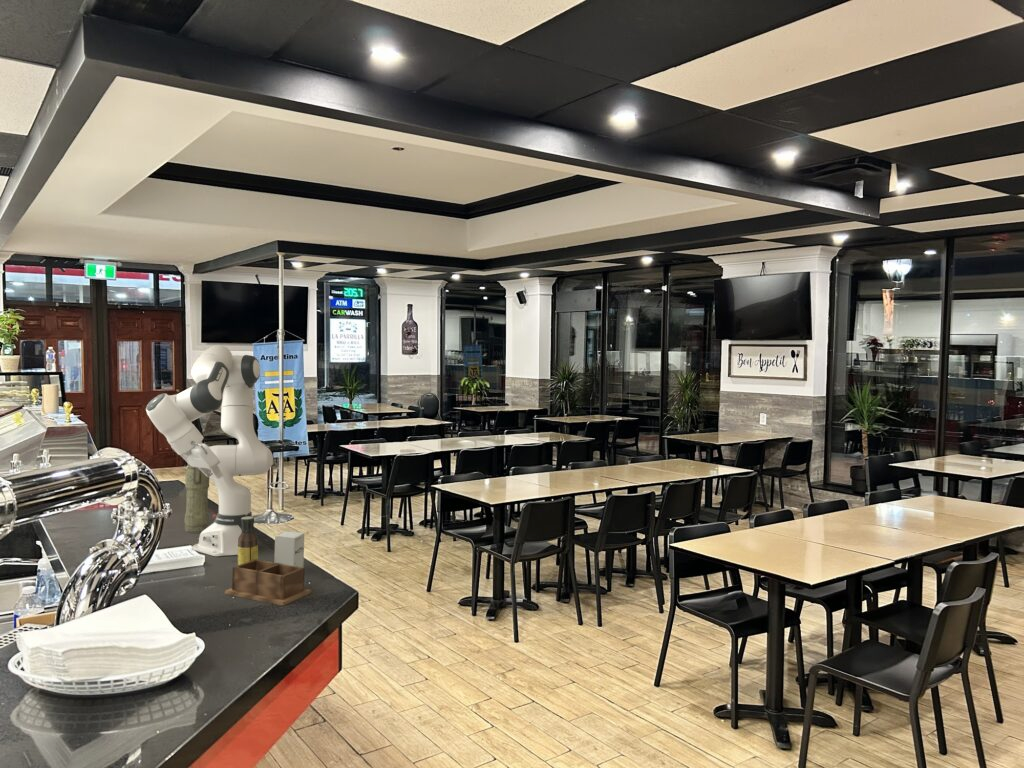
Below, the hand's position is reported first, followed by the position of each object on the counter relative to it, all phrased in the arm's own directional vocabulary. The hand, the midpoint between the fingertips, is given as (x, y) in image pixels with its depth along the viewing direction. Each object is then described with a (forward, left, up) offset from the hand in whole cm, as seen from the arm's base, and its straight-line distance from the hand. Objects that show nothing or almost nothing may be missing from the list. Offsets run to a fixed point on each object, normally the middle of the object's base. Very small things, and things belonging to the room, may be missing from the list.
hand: (215, 476), depth 230 cm
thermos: (-55, +48, -35) cm, 80 cm away
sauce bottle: (+4, +11, -35) cm, 37 cm away
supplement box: (+11, +23, -35) cm, 43 cm away
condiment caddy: (+20, +2, -34) cm, 40 cm away
